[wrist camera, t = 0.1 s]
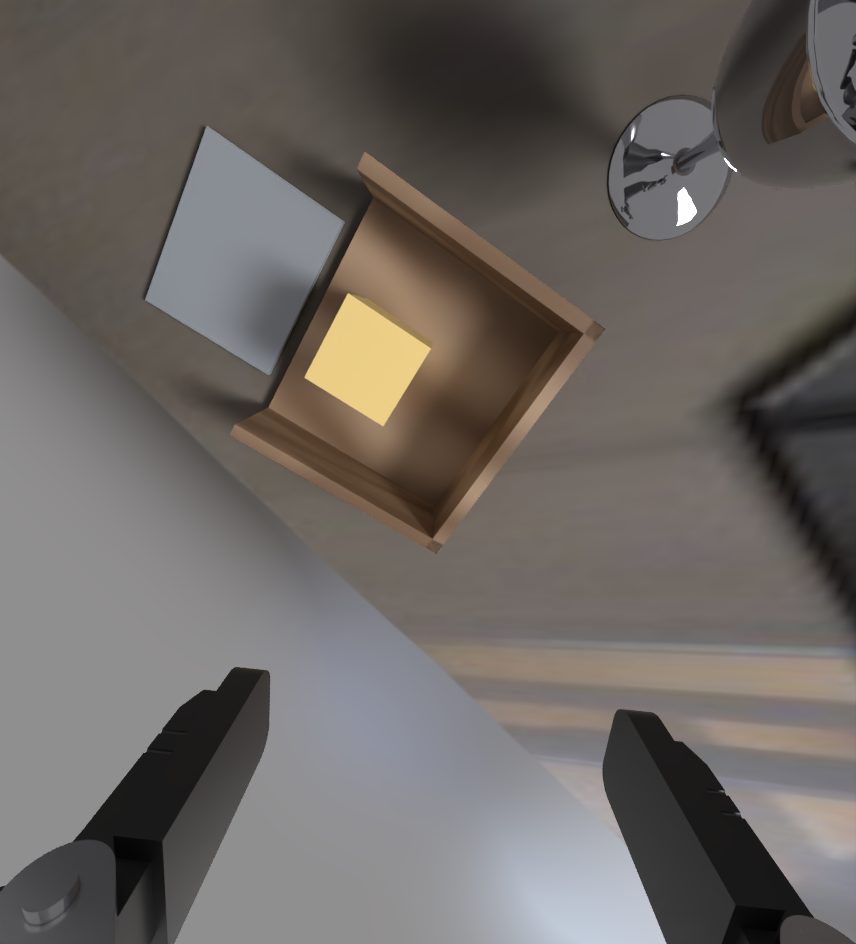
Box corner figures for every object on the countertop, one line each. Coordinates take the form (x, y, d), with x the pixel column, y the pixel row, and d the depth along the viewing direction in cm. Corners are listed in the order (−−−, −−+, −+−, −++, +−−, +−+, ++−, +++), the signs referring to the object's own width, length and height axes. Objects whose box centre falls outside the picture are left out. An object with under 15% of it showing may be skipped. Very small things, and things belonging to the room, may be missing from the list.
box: (381, 187, 25) (364, 151, 20) (574, 327, 27) (605, 328, 22) (267, 415, 30) (229, 435, 25) (437, 515, 32) (436, 553, 27)
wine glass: (724, 246, 25) (1077, 152, 11) (593, 249, 26) (777, 162, 11) (757, 82, 22) (1284, -315, 8) (610, 88, 23) (882, -288, 9)
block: (368, 298, 26) (348, 293, 21) (433, 342, 27) (431, 348, 22) (332, 366, 28) (304, 377, 22) (394, 405, 29) (383, 426, 23)
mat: (210, 128, 24) (206, 125, 24) (344, 222, 25) (343, 221, 25) (149, 300, 27) (145, 300, 27) (270, 374, 29) (268, 375, 28)
